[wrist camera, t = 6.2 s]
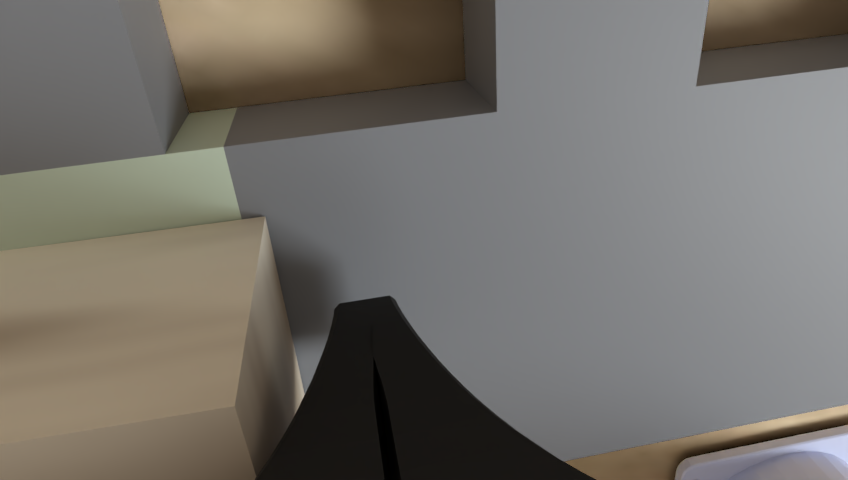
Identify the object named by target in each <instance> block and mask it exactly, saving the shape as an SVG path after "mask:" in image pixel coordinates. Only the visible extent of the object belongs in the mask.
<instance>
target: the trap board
mask: <svg viewBox="0 0 848 480" xmlns="http://www.w3.org/2000/svg"><path fill="white" fill-rule="evenodd" d="M462 2H463V27H464V52H465V78H466V80H461V81H453V82H444V83H436V84H428V85H419V86H411V87H403V88H395V89H386V90H378V91H370V92H361V93H353V94H345V95H336V96H328V97H320V98H312V99H303V100H295V101H287V102H278V103H270V104H262V105H254V106H245V107H237V108H229V109H220V110H212V111H204V112H195V113H189V111H188V107H187V104H186V100H185V96H184V93H183V89H182V85H181V82H180V78H179V74H178V71H177V67H176V64H175V60H174V56H173V53H172V49H171V45H170V42H169V38H168V34H167V31H166V27H165V24H164V20H163V16H162V13H161V9H160V5H159V2H158V0H0V251H4V250H12V249H19V248H27V247H34V246H42V245H50V244H57V243H65V242H73V241H80V240H88V239H96V238H103V237H111V236H119V235H126V234H134V233H142V232H149V231H157V230H165V229H172V228H180V227H188V226H195V225H203V224H211V223H218V222H226V221H234V220H241V219H249V218H257V217H264V216H265V218H266V222H267V227H268V231H269V236H270V240H271V245H272V249H273V254H274V258H275V263H276V267H277V272H278V276H279V281H280V285H281V290H282V294H283V299H284V303H285V308H286V312H287V317H288V321H289V326H290V330H291V335H292V339H293V344H294V348H295V353H296V357H297V362H298V366H299V371H300V375H301V380H302V384H303V389H304V393H306V391H307V389H308V387H309V385H310V383H311V380H312V378H313V376H314V374H315V371H316V368H317V366H318V363H319V361H320V358H321V356H322V353H323V350H324V348H325V345H326V342H327V339H328V336H329V332H330V329H331V325H332V320H333V316H334V309H335V308H336V307H337V305H338V304H339V303H345V302H351V301H358V300H364V299H370V298H376V297H383V296H389V295H390V296H391V297H393V298H394V299H395V300H396V302H397V304H398V306H399V308H400V309H401V311H402V313H403V314H404V316H405V317H406V319H407V320H408V322H409V323H410V325H411V326H412V327H413V329H414V330H415V332H416V333H417V334H418V336H419V337H420V338H421V339H422V341H423V342H424V343H425V344H426V345H427V347H428V348H429V349H430V350H431V351H432V353H433V354H434V355H435V356H436V357H437V359H438V360H439V361H440V362H441V363H442V364H443V365H444V366H445V367H446V368H447V370H448V371H449V372H450V373H451V374H452V375H453V376H454V377H455V378H456V379H457V380H458V381H459V382H460V383H461V384H462V385H463V386H464V387H465V388H466V389H468V390H469V391H470V392H471V393H472V394H473V395H474V396H475V397H476V398H477V399H478V400H480V401H481V402H482V403H483V404H484V405H485V406H487V407H488V408H489V409H490V410H491V411H492V412H494V413H495V414H496V415H497V416H499V417H500V418H501V419H503V420H504V421H505V422H506V423H508V424H509V425H510V426H512V427H513V428H514V429H515V430H517V431H518V432H520V433H521V434H523V435H524V436H526V437H527V438H529V439H530V440H532V441H533V442H534V443H536V444H537V445H539V446H540V447H542V448H543V449H545V450H546V451H548V452H549V453H551V454H552V455H554V456H555V457H557V458H558V459H560V460H562V461H568V460H573V459H578V458H583V457H588V456H593V455H598V454H603V453H608V452H613V451H618V450H623V449H628V448H633V447H638V446H643V445H648V444H653V443H658V442H663V441H668V440H673V439H678V438H683V437H688V436H693V435H698V434H703V433H708V432H713V431H718V430H723V429H728V428H732V427H737V426H742V425H747V424H752V423H757V422H762V421H767V420H772V419H777V418H782V417H787V416H792V415H797V414H802V413H807V412H812V411H817V410H822V409H827V408H832V407H837V406H842V405H847V404H848V34H843V35H834V36H826V37H818V38H810V39H801V40H793V41H785V42H776V43H768V44H760V45H751V46H743V47H735V48H727V49H718V50H710V51H702V52H701V50H702V44H703V37H704V30H705V24H706V17H707V11H708V4H709V0H462Z"/></svg>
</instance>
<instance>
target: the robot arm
mask: <svg viewBox="0 0 848 480" xmlns="http://www.w3.org/2000/svg"><path fill="white" fill-rule="evenodd" d="M255 480H596V479H594V478H592V477H590V476H588V475H586V474H584V473H582V472H580V471H579V470H577V469H575V468H574V467H572V466H570V465H568V464H567V463H565V462H563V461H562V460H560V459H558V458H557V457H555V456H554V455H552V454H551V453H549V452H548V451H546V450H545V449H543V448H542V447H540V446H539V445H537V444H536V443H534V442H533V441H532V440H530V439H529V438H527V437H526V436H524V435H523V434H521V433H520V432H518V431H517V430H515V429H514V428H513V427H512V426H510V425H509V424H508V423H506V422H505V421H504V420H503V419H501V418H500V417H499V416H497V415H496V414H495V413H494V412H492V411H491V410H490V409H489V408H488V407H487V406H485V405H484V404H483V403H482V402H481V401H480V400H478V399H477V398H476V397H475V396H474V395H473V394H472V393H471V392H470V391H469V390H468V389H466V388H465V387H464V386H463V385H462V384H461V383H460V382H459V381H458V380H457V379H456V378H455V377H454V376H453V375H452V374H451V373H450V372H449V371H448V370H447V368H446V367H445V366H444V365H443V364H442V363H441V362H440V361H439V360H438V359H437V357H436V356H435V355H434V354H433V353H432V351H431V350H430V349H429V348H428V347H427V345H426V344H425V343H424V342H423V341H422V339H421V338H420V337H419V336H418V334H417V333H416V332H415V330H414V329H413V327H412V326H411V325H410V323H409V322H408V320H407V319H406V317H405V316H404V314H403V313H402V311H401V309H400V308H399V306H398V304H397V302H396V300H395V299H394V298H393V297H391V296H390V295H389V296H383V297H376V298H370V299H364V300H358V301H351V302H345V303H339V304H338V305H337V307H336V308H335V309H334V316H333V320H332V325H331V329H330V332H329V336H328V339H327V342H326V345H325V348H324V350H323V353H322V356H321V358H320V361H319V363H318V366H317V368H316V371H315V374H314V376H313V378H312V380H311V383H310V385H309V387H308V389H307V391H306V393H305V395H304V397H303V399H302V401H301V403H300V406H299V408H298V410H297V412H296V414H295V415H294V417H293V419H292V421H291V423H290V425H289V426H288V428H287V430H286V432H285V433H284V435H283V437H282V438H281V440H280V442H279V443H278V445H277V447H276V448H275V450H274V451H273V453H272V455H271V456H270V458H269V459H268V461H267V462H266V464H265V465H264V466H263V468H262V469H261V471H260V472H259V474H258V475H257V477H256V478H255ZM675 480H848V425H844V426H839V427H834V428H829V429H824V430H820V431H815V432H810V433H805V434H800V435H795V436H790V437H786V438H781V439H776V440H771V441H766V442H761V443H756V444H751V445H747V446H742V447H737V448H732V449H727V450H722V451H717V452H713V453H708V454H703V455H698V456H693V457H689V458H686V459H685V460H683V461H682V462H681V463H680V464H679V465H678V467H677V470H676V475H675Z"/></svg>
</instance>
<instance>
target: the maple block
mask: <svg viewBox="0 0 848 480" xmlns="http://www.w3.org/2000/svg"><path fill="white" fill-rule="evenodd" d="M304 395H305V393H304V389H303V384H302V380H301V375H300V371H299V366H298V362H297V357H296V353H295V348H294V344H293V339H292V335H291V330H290V326H289V321H288V317H287V312H286V308H285V303H284V299H283V294H282V290H281V285H280V281H279V276H278V272H277V267H276V263H275V258H274V254H273V249H272V245H271V240H270V236H269V231H268V227H267V222H266V218H265V216H264V217H257V218H249V219H241V220H234V221H226V222H218V223H211V224H203V225H195V226H188V227H180V228H172V229H165V230H157V231H149V232H142V233H134V234H126V235H119V236H111V237H103V238H96V239H88V240H80V241H73V242H65V243H57V244H50V245H42V246H34V247H27V248H19V249H12V250H4V251H0V480H255V478H256V477H257V475H258V474H259V472H260V471H261V469H262V468H263V466H264V465H265V464H266V462H267V461H268V459H269V458H270V456H271V455H272V453H273V451H274V450H275V448H276V447H277V445H278V443H279V442H280V440H281V438H282V437H283V435H284V433H285V432H286V430H287V428H288V426H289V425H290V423H291V421H292V419H293V417H294V415H295V414H296V412H297V410H298V408H299V406H300V403H301V401H302V399H303V397H304Z"/></svg>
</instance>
